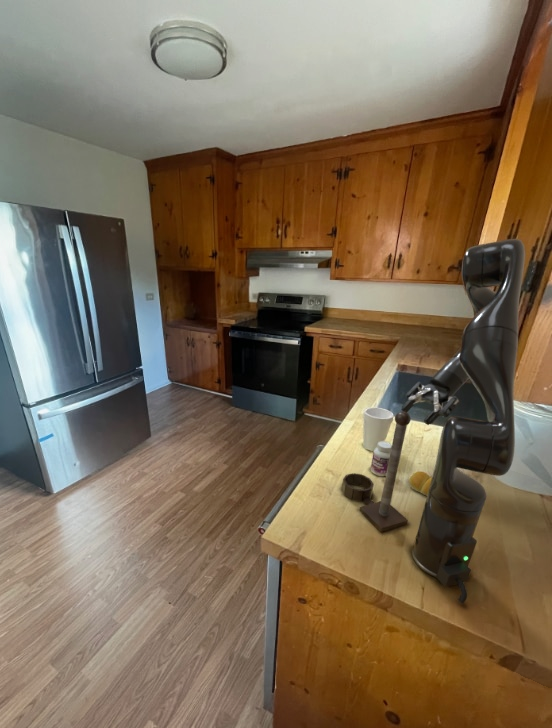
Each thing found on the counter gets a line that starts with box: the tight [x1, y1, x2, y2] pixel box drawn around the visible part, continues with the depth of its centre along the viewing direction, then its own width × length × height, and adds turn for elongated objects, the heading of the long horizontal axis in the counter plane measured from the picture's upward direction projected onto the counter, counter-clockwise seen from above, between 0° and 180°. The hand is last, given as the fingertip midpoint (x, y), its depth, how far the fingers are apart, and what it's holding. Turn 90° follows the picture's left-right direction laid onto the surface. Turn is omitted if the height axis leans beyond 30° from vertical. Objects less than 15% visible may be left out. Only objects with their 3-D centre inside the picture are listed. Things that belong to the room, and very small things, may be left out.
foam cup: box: [362, 406, 395, 452], centre depth 113 cm, size 10×9×13 cm
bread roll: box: [407, 471, 432, 497], centre depth 93 cm, size 8×9×4 cm
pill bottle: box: [370, 441, 392, 477], centre depth 99 cm, size 5×5×10 cm
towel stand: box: [341, 411, 412, 533], centre depth 82 cm, size 18×8×29 cm, turn 21°
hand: (414, 417), depth 97 cm, fingers open, 8 cm apart
